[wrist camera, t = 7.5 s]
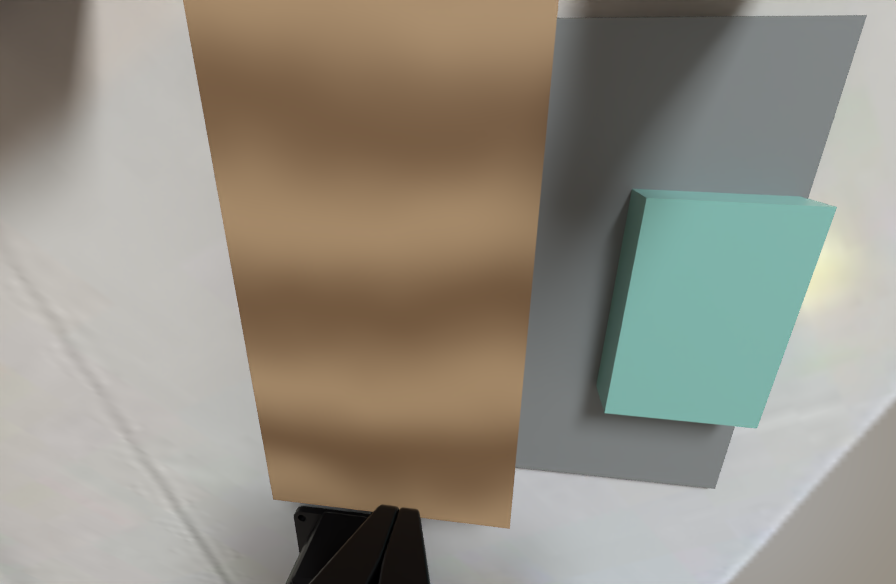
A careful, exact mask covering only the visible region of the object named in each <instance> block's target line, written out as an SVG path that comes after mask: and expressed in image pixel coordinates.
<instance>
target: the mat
mask: <svg viewBox="0 0 896 584" xmlns="http://www.w3.org/2000/svg"><path fill="white" fill-rule="evenodd" d="M866 16H867V15H847V16H736V17H625V18H557V22H556V33H555V44H554V55H553V65H552V76H551V87H550V98H549V109H548V119H547V130H546V141H545V152H544V162H543V173H542V184H541V195H540V206H539V216H538V227H537V238H536V249H535V259H534V270H533V281H532V292H531V303H530V313H529V324H528V335H527V346H526V356H525V367H524V378H523V389H522V400H521V410H520V421H519V432H518V443H517V453H516V464H515V467H517V468H526V469H536V470H545V471H554V472H564V473H573V474H582V475H592V476H601V477H610V478H619V479H629V480H638V481H647V482H657V483H666V484H675V485H685V486H694V487H703V488H712V489H715V487H716V484H717V480H718V477H719V474H720V471H721V468H722V465H723V462H724V459H725V455H726V452H727V449H728V446H729V443H730V440H731V437H732V434H733V431H734V427H735V426H727V425H717V424H708V423H698V422H688V421H678V420H668V419H658V418H648V417H638V416H628V415H618V414H608V413H604V410H603V407H602V403H601V400H600V397H599V394H598V391H597V387H596V384H597V378H598V373H599V367H600V362H601V356H602V351H603V345H604V340H605V334H606V329H607V323H608V318H609V312H610V307H611V301H612V296H613V290H614V285H615V279H616V274H617V268H618V263H619V257H620V252H621V246H622V241H623V235H624V230H625V224H626V219H627V213H628V208H629V202H630V197H631V191H632V189H647V190H669V191H691V192H713V193H734V194H756V195H778V196H800V197H804V198H807V199H808V197H809V194H810V191H811V187H812V184H813V181H814V178H815V175H816V172H817V169H818V166H819V162H820V159H821V156H822V153H823V150H824V147H825V144H826V141H827V138H828V134H829V131H830V128H831V125H832V122H833V119H834V116H835V113H836V109H837V106H838V103H839V100H840V97H841V94H842V91H843V88H844V85H845V81H846V78H847V75H848V72H849V69H850V66H851V63H852V60H853V56H854V53H855V50H856V47H857V44H858V41H859V38H860V35H861V32H862V28H863V25H864V22H865V19H866Z"/></svg>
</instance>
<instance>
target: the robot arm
mask: <svg viewBox="0 0 896 584" xmlns="http://www.w3.org/2000/svg"><path fill="white" fill-rule="evenodd" d="M294 521H295V527H296V533H297V540H298V546H299V552H300V554H299V556H298V558H297V561H296V563H295V565H294V567H293V569H292V571H291V573H290V575H289V577H288V579H287V581H286V584H430V579H429V572H428V565H427V559H426V552H425V545H424V538H423V532H422V525H421V518H420V513H419V510H418V509H413V508H406V507H402V508H400V509H399V508H398V507H397V506H392V505H385V504H382V505H379V506H378V507H377V508H376V509H375V510H374V512H373V513H372V514H371V515H370V514H362V513H354V512H346V511H338V510H330V509H322V508H314V507H306V506H301V507H299V508H298V509H297V510H296V512H295V514H294Z"/></svg>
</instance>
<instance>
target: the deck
mask: <svg viewBox="0 0 896 584" xmlns="http://www.w3.org/2000/svg"><path fill="white" fill-rule="evenodd" d="M558 1H559V0H183V3H184V8H185V14H186V19H187V25H188V30H189V36H190V41H191V47H192V52H193V58H194V63H195V69H196V74H197V80H198V86H199V91H200V97H201V102H202V108H203V113H204V119H205V124H206V130H207V135H208V141H209V146H210V152H211V157H212V163H213V168H214V174H215V180H216V185H217V191H218V196H219V202H220V207H221V213H222V218H223V224H224V229H225V235H226V240H227V246H228V251H229V257H230V263H231V268H232V274H233V279H234V285H235V290H236V296H237V301H238V307H239V312H240V318H241V323H242V329H243V334H244V340H245V345H246V351H247V357H248V362H249V368H250V373H251V379H252V384H253V390H254V395H255V401H256V406H257V412H258V417H259V423H260V428H261V434H262V440H263V445H264V451H265V456H266V462H267V467H268V473H269V478H270V484H271V489H272V495H273V499H274V500H282V501H290V502H298V503H306V504H315V505H323V506H331V507H339V508H347V509H355V510H363V511H371V512H374V510H375V509H376V508H377V507H378V506H379V505H382V504H385V505H392V506H397V507H398V508H399V509H400V508H402V507H406V508H413V509H418V510H419V513H420V518H428V519H436V520H444V521H452V522H460V523H468V524H476V525H484V526H493V527H501V528H509V529H510V518H511V507H512V497H513V486H514V475H515V464H516V453H517V443H518V432H519V421H520V410H521V400H522V389H523V378H524V367H525V356H526V346H527V335H528V324H529V313H530V303H531V292H532V281H533V270H534V259H535V249H536V238H537V227H538V216H539V206H540V195H541V184H542V173H543V162H544V152H545V141H546V130H547V119H548V109H549V98H550V87H551V76H552V65H553V55H554V44H555V33H556V22H557V12H558Z"/></svg>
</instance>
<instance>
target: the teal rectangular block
mask: <svg viewBox="0 0 896 584" xmlns="http://www.w3.org/2000/svg"><path fill="white" fill-rule="evenodd" d="M836 208H837V207H835V206H831V205H828V204H824V203H821V202H817V201H814V200H811V199H807V198H804V197H800V196H778V195H756V194H734V193H713V192H691V191H669V190H647V189H632V191H631V197H630V202H629V208H628V213H627V219H626V224H625V230H624V235H623V241H622V246H621V252H620V257H619V263H618V268H617V274H616V279H615V285H614V290H613V296H612V301H611V307H610V312H609V318H608V323H607V329H606V334H605V340H604V345H603V351H602V356H601V362H600V367H599V373H598V378H597V384H596V387H597V391H598V394H599V397H600V400H601V403H602V407H603V410H604V413H608V414H618V415H628V416H638V417H648V418H658V419H668V420H678V421H688V422H698V423H708V424H717V425H727V426H737V427H747V428H757V427H758V424H759V421H760V419H761V416H762V413H763V410H764V408H765V405H766V402H767V399H768V397H769V394H770V391H771V388H772V385H773V383H774V380H775V377H776V374H777V372H778V369H779V366H780V363H781V361H782V358H783V355H784V352H785V349H786V347H787V344H788V341H789V338H790V336H791V333H792V330H793V327H794V325H795V322H796V319H797V316H798V313H799V311H800V308H801V305H802V302H803V300H804V297H805V294H806V291H807V289H808V286H809V283H810V280H811V277H812V275H813V272H814V269H815V266H816V264H817V261H818V258H819V255H820V253H821V250H822V247H823V244H824V241H825V239H826V236H827V233H828V230H829V228H830V225H831V222H832V219H833V217H834V214H835V211H836Z"/></svg>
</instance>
